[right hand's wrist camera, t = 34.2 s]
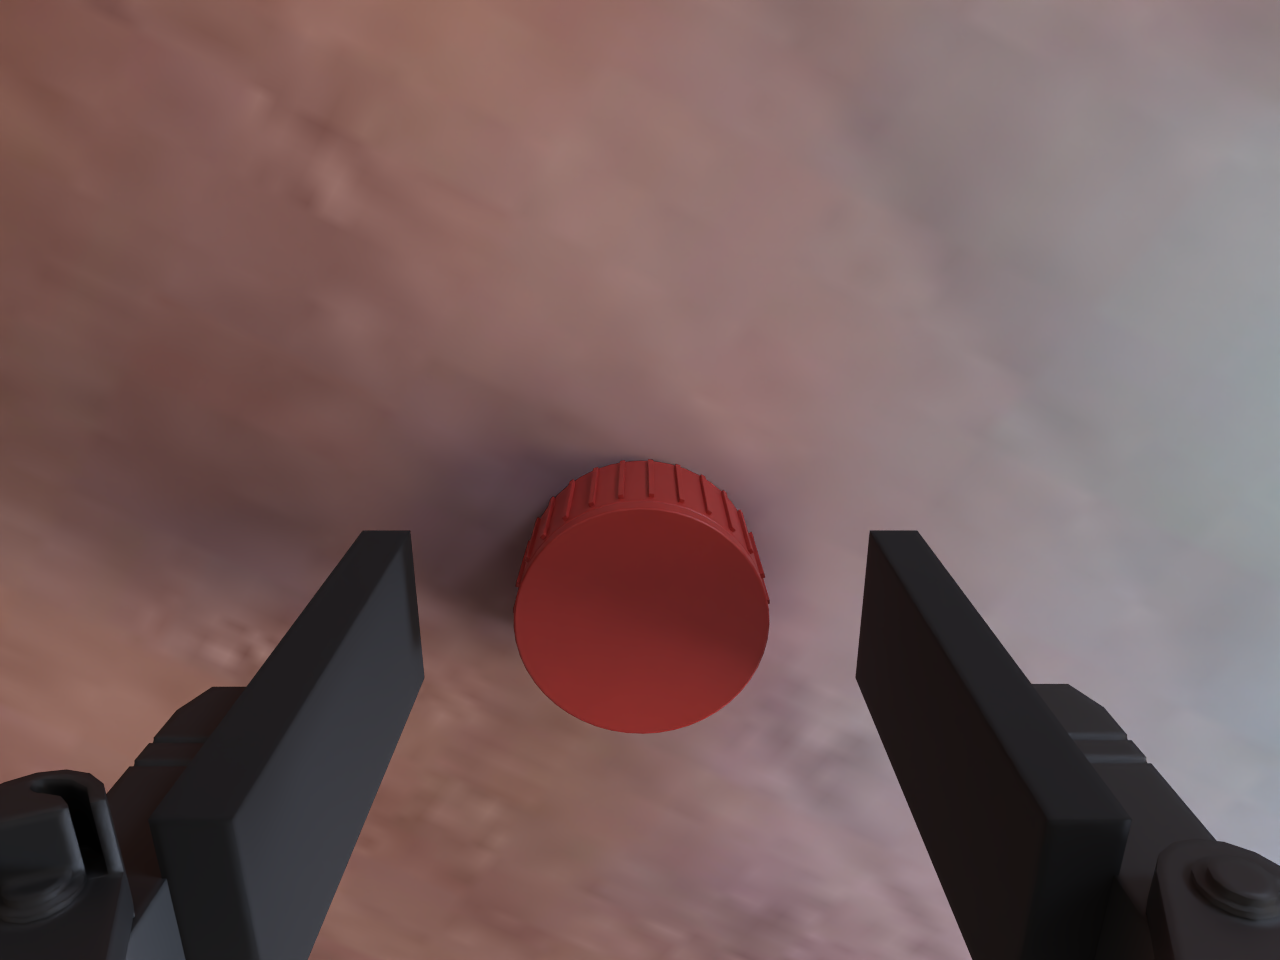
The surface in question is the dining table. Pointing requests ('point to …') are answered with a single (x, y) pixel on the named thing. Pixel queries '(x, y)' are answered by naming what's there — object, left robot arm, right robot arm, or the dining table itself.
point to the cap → (641, 599)
